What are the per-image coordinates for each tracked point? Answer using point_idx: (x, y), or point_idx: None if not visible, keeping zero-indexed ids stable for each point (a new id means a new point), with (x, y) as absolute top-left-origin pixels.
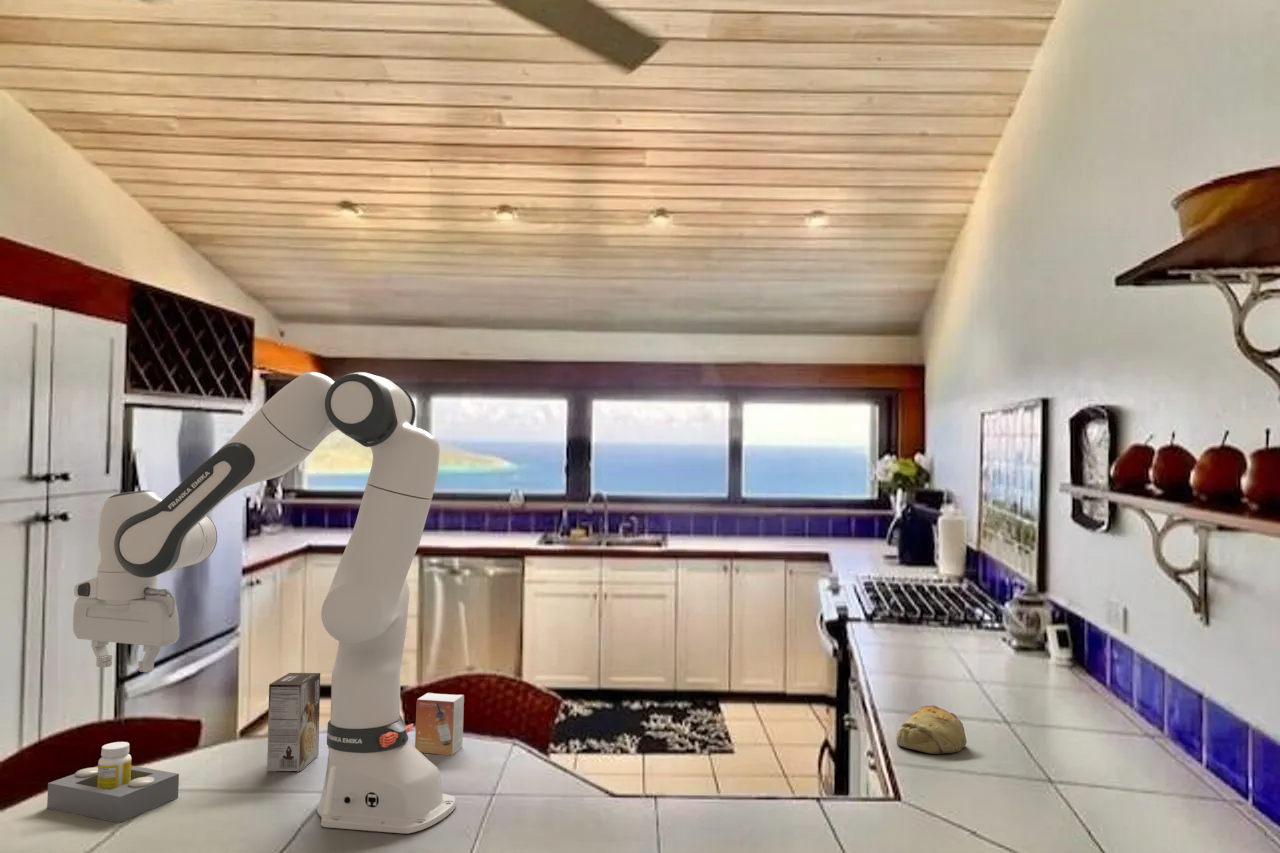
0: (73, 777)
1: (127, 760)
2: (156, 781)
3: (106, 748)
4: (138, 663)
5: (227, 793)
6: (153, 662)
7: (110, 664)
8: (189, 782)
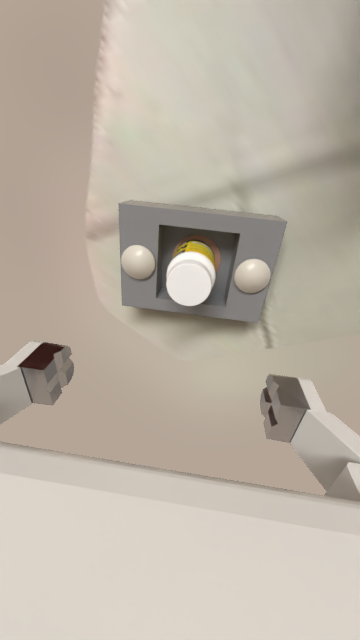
0: (133, 280)
1: (215, 276)
2: (270, 263)
3: (187, 303)
4: (266, 431)
5: (354, 171)
6: (321, 404)
7: (67, 351)
8: (252, 142)
